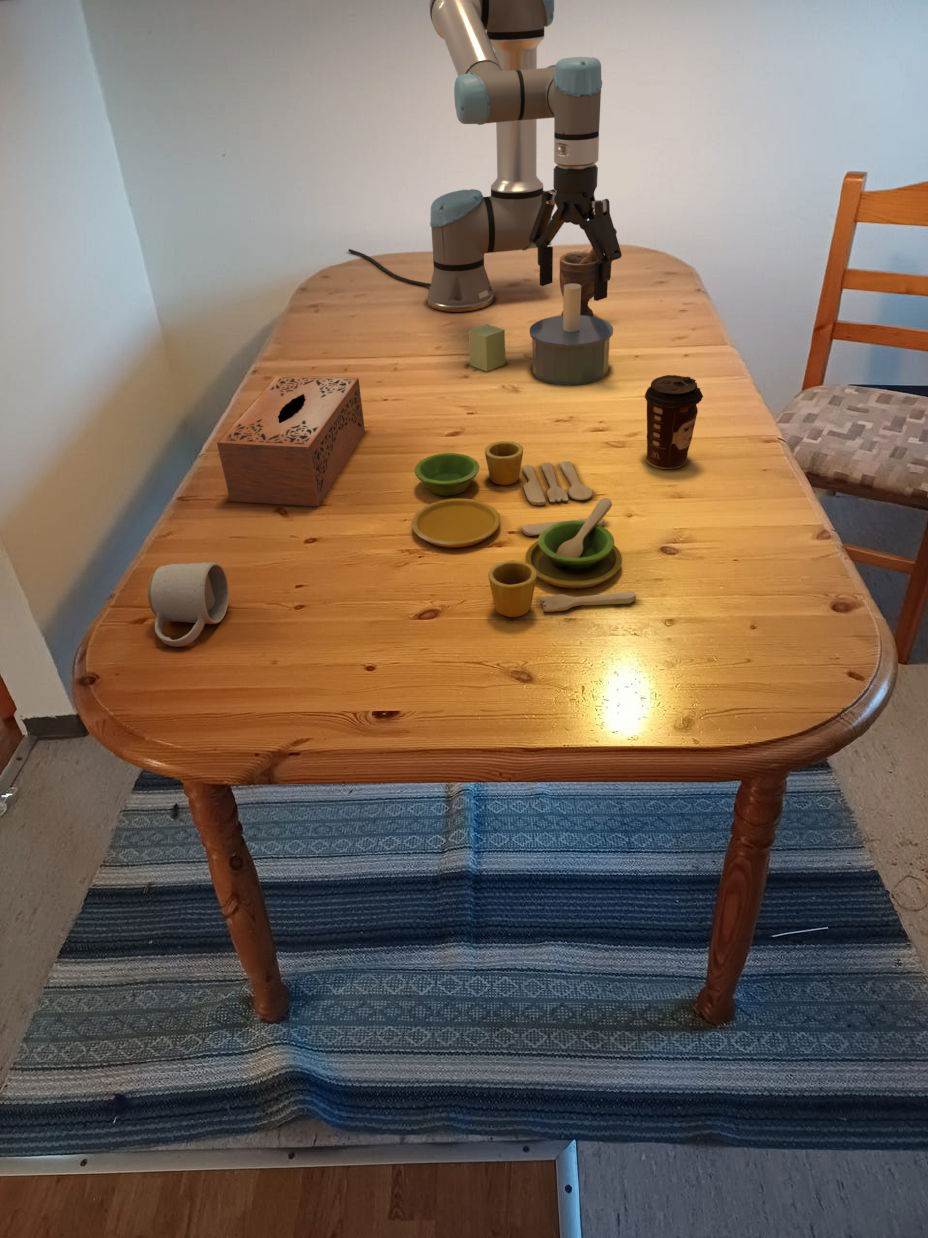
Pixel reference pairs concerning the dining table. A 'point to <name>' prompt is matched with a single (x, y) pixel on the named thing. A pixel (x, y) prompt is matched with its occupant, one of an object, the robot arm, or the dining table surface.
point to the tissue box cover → (293, 440)
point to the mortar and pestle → (579, 276)
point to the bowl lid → (571, 324)
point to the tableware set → (561, 549)
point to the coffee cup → (670, 420)
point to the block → (487, 347)
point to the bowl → (570, 363)
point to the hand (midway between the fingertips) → (572, 291)
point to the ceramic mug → (188, 597)
